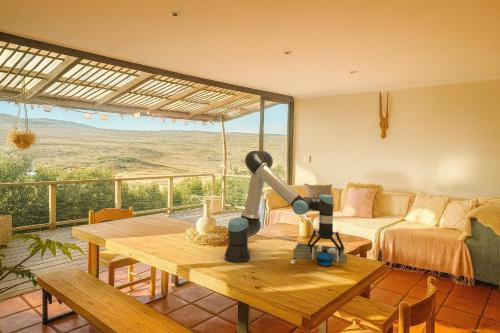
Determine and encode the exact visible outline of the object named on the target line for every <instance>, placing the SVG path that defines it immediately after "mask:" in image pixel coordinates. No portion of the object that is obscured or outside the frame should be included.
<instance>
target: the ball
mask: <svg viewBox="0 0 500 333" xmlns="http://www.w3.org/2000/svg"><path fill="white" fill-rule="evenodd" d="M327 252H330V253H337V250H336V249H335V248H330V249H328V251H327Z"/></svg>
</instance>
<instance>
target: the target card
mask: <svg viewBox="0 0 500 333" xmlns="http://www.w3.org/2000/svg"><path fill="white" fill-rule="evenodd" d="M296 260H297V259H291V261H290V264H292V265H294V264H295V263H296Z"/></svg>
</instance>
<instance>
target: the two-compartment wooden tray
mask: <svg viewBox="0 0 500 333" xmlns="http://www.w3.org/2000/svg"><path fill="white" fill-rule="evenodd" d="M307 244H308V243H301V242H297V243H296V245H294V247H293V252H292V254H293V255H292V256H293V257H292V260H297V259H302V260H303V259H304V260H311V261H312V260H314V261H317V256H318V254H319V253H320V252H323V251H324V249H326V250H327V251H328V249H330V248H335V249H336V250H337V249H338V248H337V247H336V246H331V245H322V244H321V245H320V244H315V245H314V246H313V247H314V259H312V253H310V247H309V246H307ZM328 253H330V252H328ZM330 254H331V256H332V258H333V260H332V263H338V264H346V247H344V249H342V250H341V255H340V256H338V262H337V253H330Z"/></svg>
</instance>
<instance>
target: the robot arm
mask: <svg viewBox="0 0 500 333" xmlns="http://www.w3.org/2000/svg"><path fill="white" fill-rule="evenodd" d="M244 164H245V167H246V168H247V169H248V170H249V173H250V178H249V179H250V180H249V186H248V190H247V197H246V202H245V208H244V211H243V212H241V214H240V217H234V218H232V219H230V220H229V221H228V225H227V228H228V229H227V231H228V232H227V247H226V250H225V253H224V260H225V261H227V262H230V263H237V264H239V263H240V264H241V263H246V262H249V261H250V260H251V253H250V249H249V246H248V245H249V243H248V242H249V238H250V237H252V236H255V235H257V233H258V232H259V231H260V230H261V227H262V224H261V221H260V219H261V216H260V215H259V210H260V205H261V200H262V194H263V188H264V183H265V184H267V185H268V186H269V187H270V188H271V189H272V190H273V191H274V192H275V193H276V194H277V195H278V196H279V197H281V198H282V199H283V200H284V201H285V202H286V203H287V204H288V205H290V206H291V207H292V210H293V213H295V214H296V215H298V216H299V215H306V214H307V213H309V212H319V214H318V218H319V219H318V221H319V223H318V230H316V229H313V232H312V235H311V236H310V239H309V240H308V242H307V243H306V244H307V246H309V247H310V253H312V259H314V247H313V246H314V245H317V243H318V242H319V241H320V240H321V239H322V240H330V241H331V242H332V243H333V244H334V247H337V248H338V249H337V262H338V256H340V255H341V250H342V249H344V248H345V246H344V244H343V242H342V240H341V238H340V236H339V234H340V233H339V231H333V229H334V224H333V222H334V197H333V195H331V194H319V197H308V196H301V195H300V194H299V193H298V192H297V191H296V190H295V189H293V187H292V186H290V185H289V184H288V183H287V182H286V181H285V180H284V179H283V178H282V177H280V176H279V175H278V174H277V173H276V172H275V171H274V170H272V169H271V167H272V166H273V164H274V159H273V156H272V155H271V153H269V152H268V151H265V150H251V151H249V152H248V153H247V154H246V155H245V158H244ZM317 234H318V237H317V238H316V239H315V240H314V241H313V239H314V237H315V236H316V235H317ZM333 235H334V237H336V239H337V241H338V242H337V241H336V240H335V239H334V237H333ZM312 241H313V242H312ZM337 262H336V263H337Z"/></svg>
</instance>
